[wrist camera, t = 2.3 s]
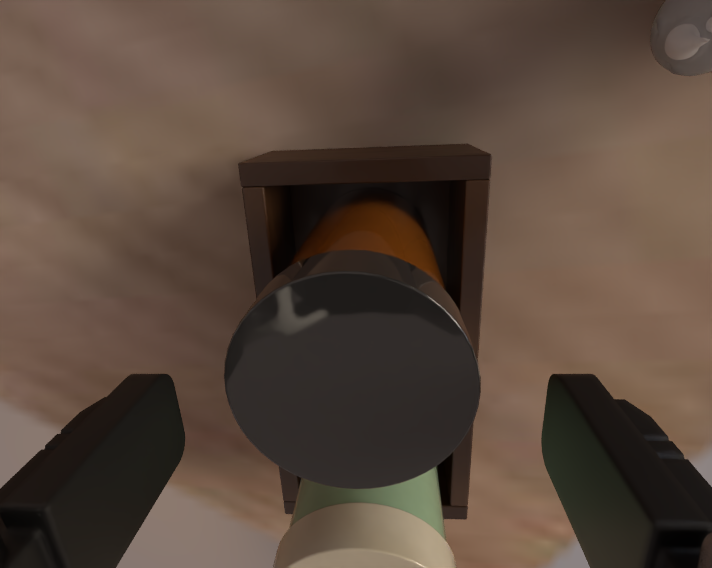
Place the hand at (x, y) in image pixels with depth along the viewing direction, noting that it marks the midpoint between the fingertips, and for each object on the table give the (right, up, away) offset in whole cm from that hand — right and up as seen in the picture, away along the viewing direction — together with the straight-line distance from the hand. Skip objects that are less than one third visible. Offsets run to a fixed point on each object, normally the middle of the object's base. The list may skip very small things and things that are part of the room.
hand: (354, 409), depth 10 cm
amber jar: (+1, +4, +10) cm, 11 cm away
